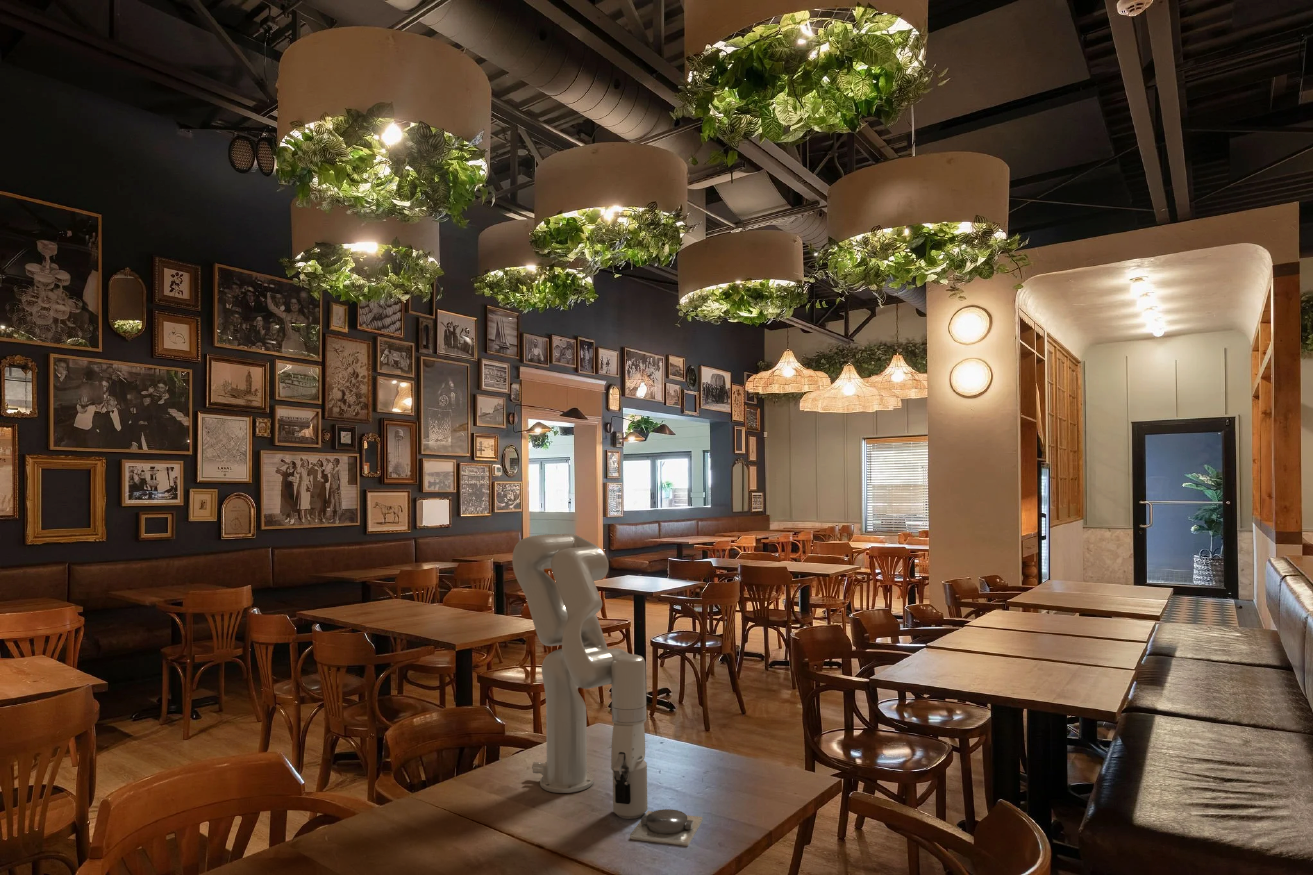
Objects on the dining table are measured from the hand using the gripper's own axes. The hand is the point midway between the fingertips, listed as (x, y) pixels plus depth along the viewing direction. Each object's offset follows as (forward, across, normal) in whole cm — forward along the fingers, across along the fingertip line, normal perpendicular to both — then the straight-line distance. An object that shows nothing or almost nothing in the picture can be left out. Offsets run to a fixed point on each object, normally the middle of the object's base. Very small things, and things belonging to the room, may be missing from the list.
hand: (630, 794), depth 170 cm
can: (+4, 0, 0) cm, 4 cm away
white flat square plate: (+4, +6, +10) cm, 12 cm away
